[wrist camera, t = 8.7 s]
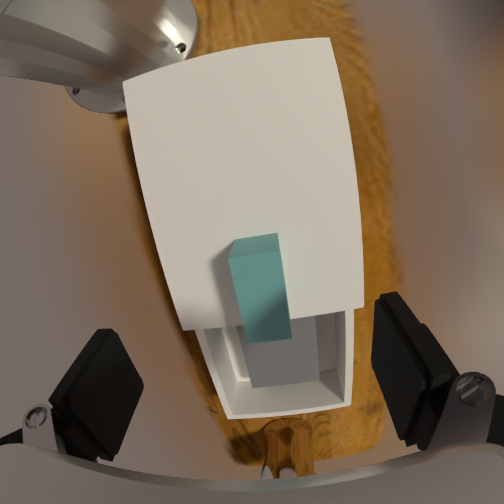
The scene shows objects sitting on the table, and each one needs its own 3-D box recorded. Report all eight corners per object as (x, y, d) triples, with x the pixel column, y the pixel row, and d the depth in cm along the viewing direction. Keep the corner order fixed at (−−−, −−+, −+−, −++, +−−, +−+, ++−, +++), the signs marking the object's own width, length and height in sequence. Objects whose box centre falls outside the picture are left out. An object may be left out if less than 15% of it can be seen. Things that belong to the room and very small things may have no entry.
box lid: (126, 83, 14) (96, 72, 11) (327, 40, 13) (341, 16, 9) (184, 326, 19) (170, 358, 16) (361, 303, 18) (377, 333, 15)
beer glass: (265, 447, 32) (260, 544, 18) (252, 419, 30) (242, 533, 16) (317, 440, 31) (326, 539, 17) (312, 411, 29) (322, 528, 15)
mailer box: (191, 232, 23) (171, 254, 18) (332, 210, 21) (349, 226, 17) (233, 382, 28) (227, 418, 23) (341, 369, 26) (350, 405, 22)
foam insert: (236, 299, 24) (233, 315, 21) (310, 288, 23) (314, 304, 21) (253, 370, 26) (252, 388, 24) (316, 362, 26) (319, 380, 23)
